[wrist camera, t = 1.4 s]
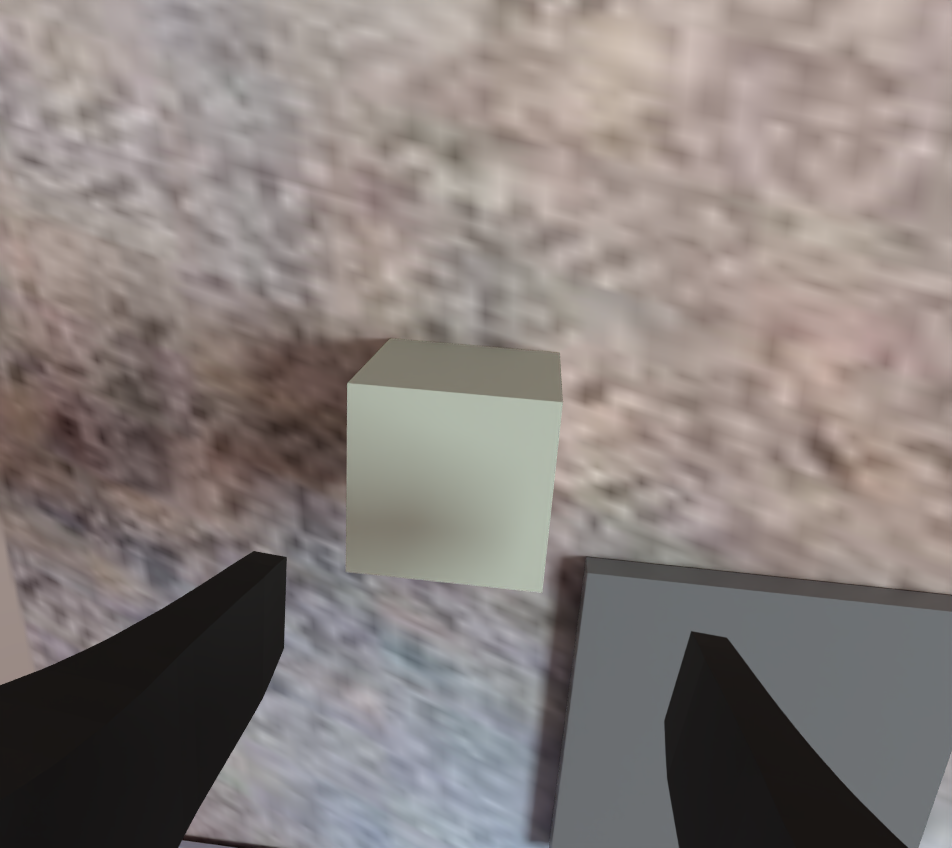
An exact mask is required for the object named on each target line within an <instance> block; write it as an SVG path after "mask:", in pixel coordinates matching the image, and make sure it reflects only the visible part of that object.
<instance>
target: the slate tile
mask: <svg viewBox="0 0 952 848" xmlns="http://www.w3.org/2000/svg"><path fill="white" fill-rule="evenodd" d="M691 631H694V632H699V633H705V634H710V635H716V636H721V637H727V638H728V640H729V641H730V642H731V643H732V645H733V646H734V647H735V649H736V650H737V651H738V653H739V654H740V655H741V657H742V658H743V659H744V661H745V662H746V664H747V665H748V666H749V668H750V669H751V670H752V672H753V673H754V674H755V676H756V677H757V678H758V680H759V681H760V682H761V684H762V685H763V686H764V688H765V689H766V690H767V692H768V693H769V694H770V696H771V697H772V698H773V700H774V701H775V702H776V703H777V705H778V706H779V707H780V709H781V710H782V711H783V712H784V714H785V715H786V716H787V718H788V719H789V720H790V721H791V723H792V724H793V725H794V726H795V728H796V729H797V730H798V731H799V732H800V734H801V735H802V736H803V737H804V738H805V740H806V741H807V742H808V743H809V744H810V746H811V747H812V748H813V749H814V750H815V752H816V753H817V754H818V755H819V756H820V757H821V758H822V760H823V761H824V762H825V763H826V764H827V765H828V766H829V767H830V769H831V770H832V771H833V772H834V773H835V774H836V775H837V776H838V778H839V779H840V780H841V781H842V782H843V783H844V784H845V785H846V786H847V787H848V788H849V790H850V791H851V792H852V793H853V794H854V795H855V796H856V797H857V798H858V799H859V800H860V801H861V802H862V803H863V804H864V805H865V806H866V807H867V808H868V809H869V810H870V811H871V812H872V813H873V814H874V815H875V816H876V817H877V818H878V819H879V820H880V821H881V822H882V823H883V824H884V825H885V826H886V827H887V828H888V829H889V830H890V831H891V832H892V833H893V834H894V835H895V836H896V837H897V838H898V839H900V840H901V841H902V842H903V843H904V844H905V845H906V846H907V847H908V848H918V847H919V844H920V841H921V838H922V835H923V832H924V830H925V827H926V824H927V821H928V818H929V815H930V812H931V809H932V806H933V804H934V801H935V798H936V795H937V792H938V789H939V786H940V783H941V780H942V777H943V775H944V772H945V769H946V766H947V763H948V760H949V757H950V754H951V751H952V595H944V594H934V593H925V592H915V591H906V590H896V589H887V588H877V587H868V586H858V585H849V584H839V583H830V582H820V581H811V580H801V579H792V578H782V577H773V576H763V575H754V574H744V573H734V572H725V571H715V570H706V569H696V568H687V567H677V566H668V565H658V564H649V563H639V562H630V561H620V560H611V559H601V558H592V557H586V562H585V569H584V577H583V585H582V592H581V600H580V608H579V616H578V623H577V631H576V639H575V646H574V654H573V662H572V670H571V677H570V685H569V693H568V700H567V708H566V716H565V724H564V731H563V739H562V747H561V754H560V762H559V770H558V778H557V785H556V793H555V801H554V808H553V816H552V824H551V832H550V839H549V848H679V845H678V839H677V834H676V828H675V823H674V817H673V811H672V805H671V799H670V794H669V787H668V781H667V770H666V754H665V730H664V720H665V716H666V713H667V710H668V706H669V703H670V700H671V696H672V693H673V690H674V686H675V683H676V680H677V677H678V673H679V670H680V667H681V663H682V660H683V657H684V653H685V650H686V647H687V643H688V640H689V637H690V633H691Z"/></svg>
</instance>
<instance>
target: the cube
mask: <svg viewBox="0 0 952 848" xmlns="http://www.w3.org/2000/svg"><path fill="white" fill-rule="evenodd" d="M562 405H563V398H562V381H561V365H560V353H557V352H546V351H534V350H522V349H510V348H499V347H487V346H475V345H463V344H452V343H440V342H428V341H416V340H405V339H393V338H390V339H389V340H388V341H387V342H386V343H385V344H384V345H383V346H382V347H381V348H380V349H379V351H378V352H377V353H376V354H375V355H374V356H373V357H372V358H371V359H370V360H369V361H368V362H367V363H366V364H365V365H364V366H363V367H362V368H361V369H360V370H359V371H358V372H357V373H356V375H355V376H354V377H353V378H352V379H351V380H350V381H349V382H348V383H347V487H346V572H352V573H361V574H371V575H380V576H390V577H399V578H408V579H418V580H427V581H437V582H446V583H455V584H465V585H474V586H483V587H493V588H502V589H512V590H521V591H530V592H540V593H542V590H543V580H544V571H545V562H546V553H547V543H548V534H549V525H550V516H551V506H552V497H553V488H554V479H555V470H556V460H557V451H558V442H559V433H560V423H561V414H562Z"/></svg>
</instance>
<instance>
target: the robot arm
mask: <svg viewBox="0 0 952 848" xmlns="http://www.w3.org/2000/svg"><path fill="white" fill-rule="evenodd" d="M286 562H287V557H283V556H278V555H272V554H267V553H261V552H256V551H253V552H252V553H250V554H248V555H247V556H245V557H244V558H242V559H240V560H239V561H237V562H236V563H234V564H233V565H231V566H229V567H228V568H226V569H225V570H223V571H222V572H220V573H219V574H217V575H216V576H214V577H212V578H211V579H209V580H208V581H206V582H205V583H203V584H202V585H200V586H198V587H197V588H195V589H194V590H192V591H190V592H189V593H187V594H185V595H184V596H182V597H181V598H179V599H177V600H176V601H174V602H173V603H171V604H169V605H168V606H166V607H164V608H163V609H161V610H159V611H157V612H155V613H154V614H152V615H150V616H148V617H147V618H145V619H143V620H141V621H139V622H138V623H136V624H134V625H132V626H130V627H129V628H127V629H125V630H123V631H122V632H120V633H118V634H116V635H114V636H112V637H110V638H108V639H106V640H105V641H103V642H101V643H99V644H97V645H94V646H92V647H90V648H88V649H86V650H84V651H82V652H80V653H78V654H75V655H73V656H71V657H69V658H67V659H64V660H62V661H60V662H58V663H56V664H53V665H51V666H49V667H46V668H44V669H42V670H39V671H36V672H34V673H31V674H29V675H26V676H23V677H21V678H18V679H15V680H13V681H11V682H8V683H5V684H2V685H0V848H236V847H228V846H221V845H214V844H206V843H199V842H192V841H184V840H182V839H183V837H184V835H185V833H186V831H187V829H188V828H189V826H190V824H191V822H192V820H193V818H194V816H195V814H196V813H197V811H198V809H199V807H200V805H201V804H202V802H203V800H204V799H205V797H206V795H207V794H208V792H209V790H210V788H211V787H212V785H213V783H214V782H215V780H216V778H217V776H218V775H219V773H220V771H221V770H222V768H223V766H224V765H225V763H226V761H227V759H228V758H229V756H230V754H231V753H232V751H233V749H234V747H235V746H236V744H237V742H238V741H239V739H240V737H241V735H242V734H243V732H244V730H245V729H246V727H247V725H248V723H249V722H250V720H251V718H252V716H253V715H254V713H255V711H256V709H257V708H258V706H259V704H260V702H261V701H262V699H263V696H264V694H265V692H266V690H267V687H268V685H269V683H270V681H271V678H272V676H273V674H274V671H275V669H276V666H277V664H278V661H279V659H280V656H281V654H282V652H283V649H284V628H285V595H286ZM664 730H665V754H666V770H667V781H668V787H669V794H670V799H671V805H672V811H673V817H674V823H675V828H676V834H677V839H678V845H679V848H908V847H907V846H906V845H905V844H904V843H903V842H902V841H901V840H900V839H898V838H897V837H896V836H895V835H894V834H893V833H892V832H891V831H890V830H889V829H888V828H887V827H886V826H885V825H884V824H883V823H882V822H881V821H880V820H879V819H878V818H877V817H876V816H875V815H874V814H873V813H872V812H871V811H870V810H869V809H868V808H867V807H866V806H865V805H864V804H863V803H862V802H861V801H860V800H859V799H858V798H857V797H856V796H855V795H854V794H853V793H852V792H851V791H850V790H849V788H848V787H847V786H846V785H845V784H844V783H843V782H842V781H841V780H840V779H839V778H838V776H837V775H836V774H835V773H834V772H833V771H832V770H831V769H830V767H829V766H828V765H827V764H826V763H825V762H824V761H823V760H822V758H821V757H820V756H819V755H818V754H817V753H816V752H815V750H814V749H813V748H812V747H811V746H810V744H809V743H808V742H807V741H806V740H805V738H804V737H803V736H802V735H801V734H800V732H799V731H798V730H797V729H796V728H795V726H794V725H793V724H792V723H791V721H790V720H789V719H788V718H787V716H786V715H785V714H784V712H783V711H782V710H781V709H780V707H779V706H778V705H777V703H776V702H775V701H774V700H773V698H772V697H771V696H770V694H769V693H768V692H767V690H766V689H765V688H764V686H763V685H762V684H761V682H760V681H759V680H758V678H757V677H756V676H755V674H754V673H753V672H752V670H751V669H750V668H749V666H748V665H747V664H746V662H745V661H744V659H743V658H742V657H741V655H740V654H739V653H738V651H737V650H736V649H735V647H734V646H733V645H732V643H731V642H730V641H729V640H728V638H727V637H721V636H716V635H710V634H705V633H699V632H694V631H691V633H690V637H689V640H688V643H687V647H686V650H685V653H684V657H683V660H682V663H681V667H680V670H679V673H678V677H677V680H676V683H675V686H674V690H673V693H672V696H671V700H670V703H669V706H668V710H667V713H666V716H665V720H664Z"/></svg>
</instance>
